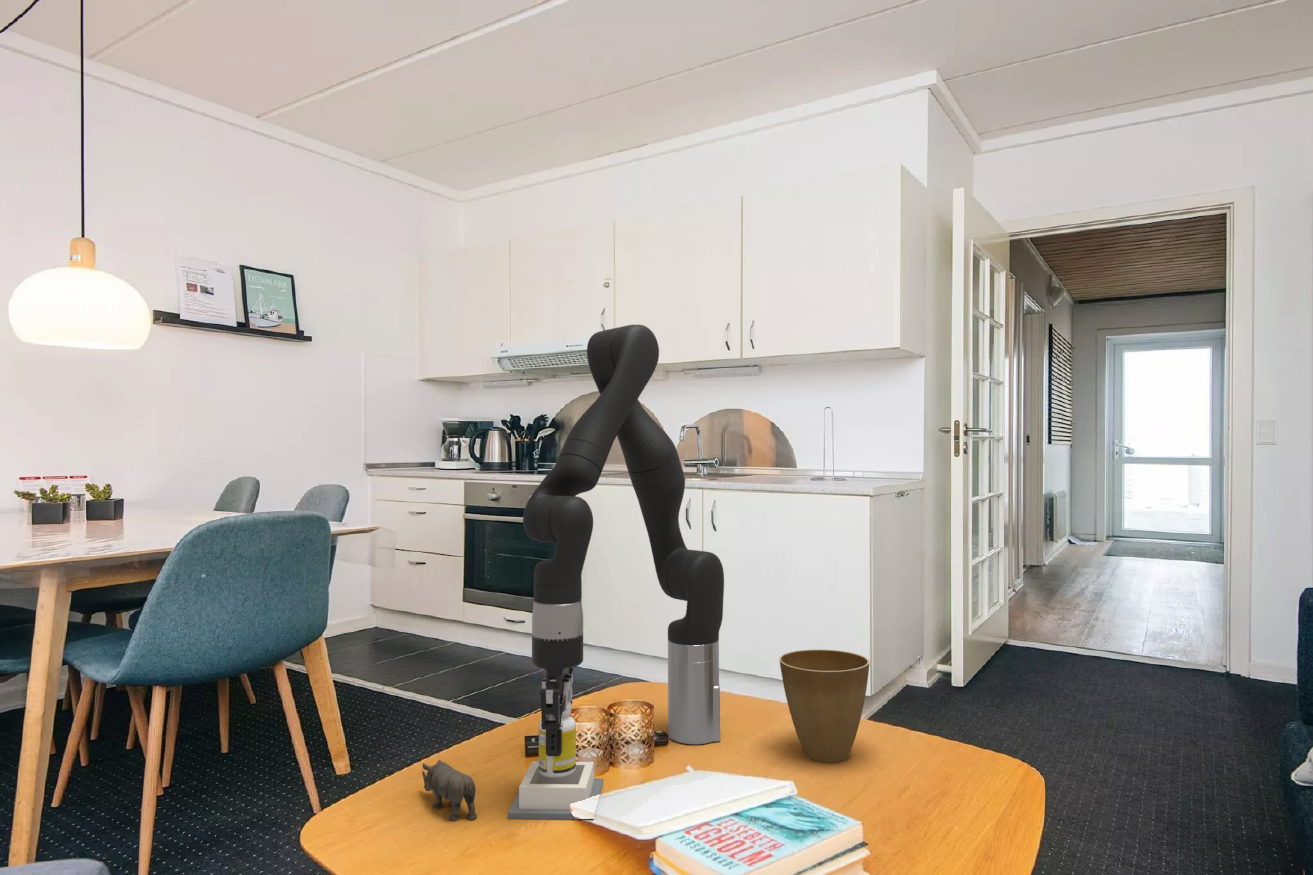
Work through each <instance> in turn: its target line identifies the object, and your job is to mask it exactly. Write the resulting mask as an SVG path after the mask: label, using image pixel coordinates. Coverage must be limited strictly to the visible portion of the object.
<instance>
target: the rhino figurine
mask: <svg viewBox="0 0 1313 875" xmlns="http://www.w3.org/2000/svg"><path fill="white" fill-rule="evenodd" d="M422 769H423V770H422V772H421V774H422V775H421V776H422V778H423V783H424V786H423V788H424V791H427V792H430V791H432V794H433V796H434V798H435V802H434V803H433V804H432V809H437V810H438V809H442V808H443V805H444V804H443V799H444V800H445V801H446V800H447V801H449V802H448V805H449V806H451V813H450V814H448V817H447V818H448V821H449V822H451V821H452V822H455V821H458V820H459V818H460V816H459V812H460V811H461V804H462V801H463V800H465V803H466V805H467V810H468V813H467V814H466V820H469V821H473V820H476V819H477V818H478V814H477V813H476V804H475V798H476V784H475V782H474V779H473V777H471V776H470V775H468V774H466V773H464V772H461V771H459V770H456V769H455V768H454V767H452V766H451V765H449V764H448V763H447V762H445V761H442V760H441V759H438V761H437V762H436V763H435V764H434V765H428V764H426V763H425V762H424V763H422ZM424 770H425V771H426V773H425V771H424Z"/></svg>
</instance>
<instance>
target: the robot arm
mask: <svg viewBox="0 0 1313 875" xmlns="http://www.w3.org/2000/svg"><path fill="white" fill-rule="evenodd" d="M586 358H587V363H588V368H589V371H590V373H591V376H592V378H593V380H594V383H595V385H596V388H597V390H598V393H599V396H598V397H597V398H596V399H595V400H594V402H592V404H591V405H590V406H589V407H587V409H586V411H584V413H583V414H582V415H580V417H579V418H578V419H577V421H576V422H575V423H574V425H573V426H572V427H571V429H570V431H569V433H568V435H567V436H566V439H565V440H564V443H563V446H562V448H561V451H560V452H559V455H558V457H557V460H556V462H555V465H554V466H553V467H552V469H550V471H548V473H547V474H546V476H545V477H544V478H543V479H542V481H541V482H540V483H539V485H538V486H537V487H536V488H535V490H534V491H533V493H531V495H530V497H529V499H528V501H527V502H526V505H525V507H524V510H523V514H522V515H523V516H522V525H523V526H522V527H523V529H524V532H525V534H526V535H527V536H528V538H530V539H531V540H532V541H535V542H538V543H546V544H547V543H548V544H556V549H555V551H554V555H553V557H552V558H548V559H544V560H540V561H538V563H536V565H535V567H534V570H533V571H534V572H533V605H532V606H533V607H532V613H531V614H532V616H531V663H532V664H533V666H535V667H536V668H539V669H544V670H545V671H546V674H545V678H542V679H541V680H542V682H541V689H540V691H539V696H540V709H541V711H540V712H541V713H540V714H541V717H540V718H541V720H542V723H541V727H542V729H545V730H546V755H547V756H560V755H561V753H562V727H563V713H565V712H566V711H567V701H568V702H570V703H571V706H572V705H573V682H574V678H573V677H574V675H573V674H574V668H576V667H578V666H580V665H581V664H582V663H583V662H584V610H583V603H582V601H583V600H582V599H583V596H582V594H583V592H582V591H583V590H582V588H583V584H582V583H583V582H582V581H583V580H582V573H583V569H584V564H585V561H586V558H587V554H588V551H589V550H588V548H589V546H590V543H591V538H592V534H593V529H594V517H593V512H592V508H591V507H590V505H589V503H588V502H587V501H586V500H585V498H583V497H580V496H577V495H579V494H583V493H588V492H590V491H591V490H593V489H594V488H595V487H596V486H597V484H598V482H599V480H600V478H601V474H602V472H603V469H604V467H605V464H606V462H607V459H608V457H609V455H610V451H611V450H612V447H613V444H614V442H615V440H616V438H617V440H618V442H619V446H620V450H621V451H622V454H623V458H624V461H625V465H626V466H625V467H626V468H627V472H628V474H629V478H630V482H631V485H632V488H633V489H634V493H635V495H636V498H637V502H638V505H639V508H640V511H641V514H642V519H643V522H644V525H645V528H646V531H647V532H646V533H647V535H648V539H649V544H650V548H651V553H652V559H653V563H654V568H655V572H656V576H657V581H658V583H659V585H660V588H661V590H662V591H663V592H664V594H665V595H666V596H668V597H670V598H671V599H674V600H679V601H686V610H685V615H684V617H683V618H679V619H676V620H673V621H671V622H670V623H669V624H668V627H667V728H668V729H667V734H668V735H669V736H668V738H669V739H670V740H672V741H675V743H676V742H678V743H680V744H686V745H687V744H688V745H703V744H710V743H712V742H720V741H721V692H720V691H721V689H720V688H721V687H720V643H719V642H720V629H721V625H722V623H723V618H724V617H723V616H724V592H725V574H724V572H725V571H724V567H723V563H722V561H721V559H720V558H719V556H718V555H716V554H715V553H713V552H710V551H704V550H698V549H688V547H687V546H686V544H685V541H684V538H683V535H682V533H681V527H680V522H679V517H680V511H681V506H682V502H683V498H684V494H685V487H686V478H685V473H684V470H683V465H682V463H681V459H680V456H679V453H678V451H677V448H676V446H675V443H674V442H673V440H672V439H671V438H670V436H669V434H668V433H667V432H666V431H665V430H664V429H663V428H662V427H661V426H660V425H659V424H658V422H656V420H654V418H652V417H651V416H650V414H649V413H648V412H647V411H646V409H644V407H643V405H642V404H641V403H640V400H639V398H640V396H641V395H642V393H643V391H644V389H645V388H646V386H647V385H648V384H649V381H650V380H651V378H652V376H653V375H654V373H655V371H656V368H657V365H658V362H659V358H660V348H659V343H658V340H657V337H656V336H655V333H654V332H653V331H652V330H651V329H650V328H649V327H648V326H646V325H644V324H643V325H642V324H628V325H622V326H619V327H614V328H609V329H604V330H600V331H597V332H595V333H593V335H591V337H590V338H589V339H588V342H587V346H586ZM560 704H562V705H561V706H560ZM550 715H555V720H549V716H550Z"/></svg>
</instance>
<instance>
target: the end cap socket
mask: <svg viewBox="0 0 1313 875" xmlns="http://www.w3.org/2000/svg"><path fill="white" fill-rule="evenodd" d="M602 786H604V778H601V777H599V778H598V777H597V778H595V762H594V761H576V769H575V771H574V772H573V773H572V774H571V775H568V776H566V777H559V778H551V777H546V776H543V775H541V774H540V772H539V760H538V761H537V760H536V761H535V760H532V762H531V763H530V765H529V768H528V769H527V771H526V773H525V775H524V777H523V778H522V781H521V783H520V785H519V787H518V792H517V794H516V796H515V798H514V799H513V800H514V801H513V802H512V804H511V806H510V808H509V810H508V811H507V820H508V819H514V820H561V821H563V820H564V819H565V820H566V821H568V820H570V821H571V820H572V819H574V821H579V820H578V819H577V818H575V817H574V816H573V815H572V813H571V812H570V804H571V803H575V802H578V801H582V800H585V799H587V798H590V797H592V796H596V795H598V794H602V791H601V790H603V787H602ZM572 821H573V820H572Z"/></svg>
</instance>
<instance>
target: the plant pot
mask: <svg viewBox="0 0 1313 875" xmlns="http://www.w3.org/2000/svg"><path fill="white" fill-rule="evenodd" d="M778 660H779V665H780V666H779V667H780V673H781V679H782V685H783V688H784V695H785V697H786V699H785V700H786V702H787V705H788V710H789V714H790V716H791V721H792V724H793V727H794V730H795V734H796V736H797V738H798V742H799V744H800V747H801V749H802V751H803V754H804V755H805V757H806V758H807V759H810V760H812V761H816V762H821V763H839V762H840V763H841V762H842V761H843V762H844V761H845V760H847V759H848V758H849V756H850V754H851V752H852V749H853V746H854V743H855V740H856V738H857V737H856V736H857V733H858V730H859V726H860V724H861V718H862V715H863V714H862V713H863V710H864V705H865V700H866V693H867V688H868V682H869V670H870V662H871V661H870V659H868V658H867V657H866V656H863V655H861V654H858V653H854V652H851V651H850V652H849V651H844V650H835V649H802V650H801V649H800V650H795V651H789V652H787V653H784V654H782V655H780V657H779V659H778Z"/></svg>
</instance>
